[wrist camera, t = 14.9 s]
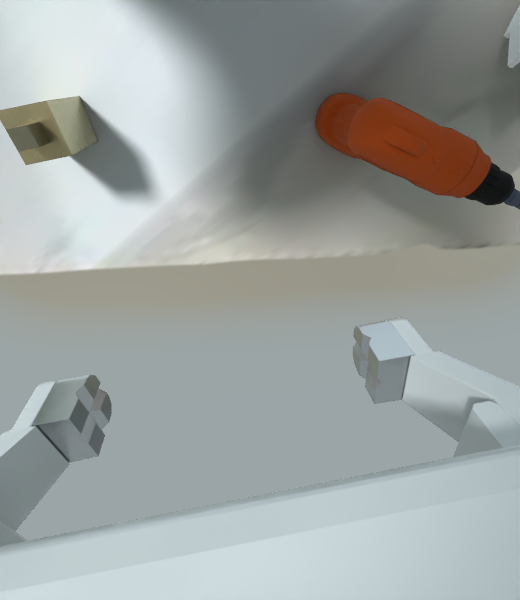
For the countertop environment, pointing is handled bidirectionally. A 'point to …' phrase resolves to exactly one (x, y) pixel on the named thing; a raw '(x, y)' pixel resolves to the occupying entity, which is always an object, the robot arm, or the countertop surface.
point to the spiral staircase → (514, 40)
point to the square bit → (49, 129)
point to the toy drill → (413, 149)
